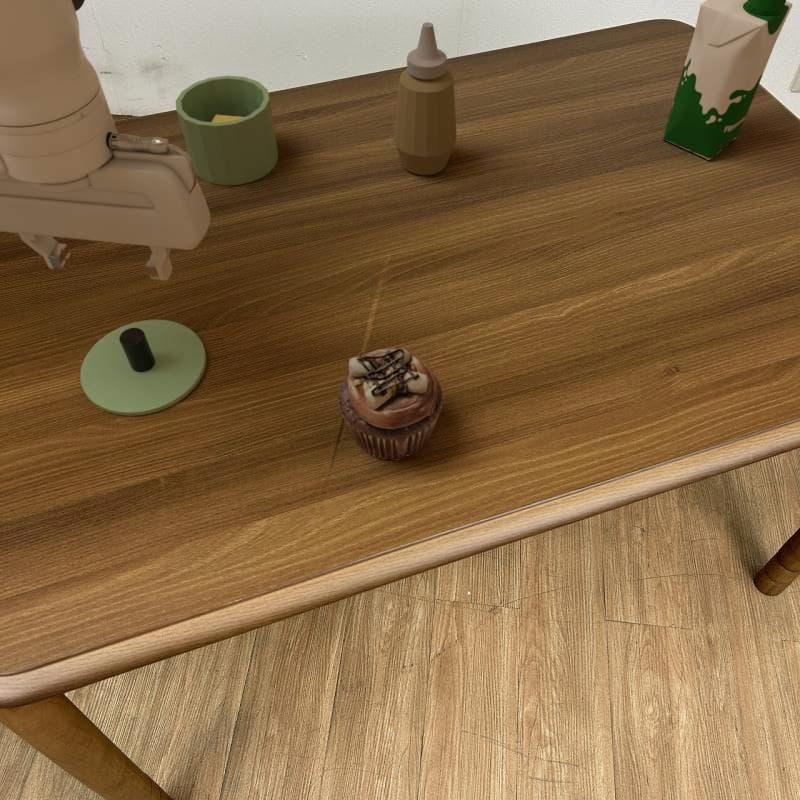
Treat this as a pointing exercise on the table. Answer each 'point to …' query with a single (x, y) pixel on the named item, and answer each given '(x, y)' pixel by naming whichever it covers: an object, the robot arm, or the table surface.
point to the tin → (228, 129)
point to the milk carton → (723, 71)
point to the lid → (143, 367)
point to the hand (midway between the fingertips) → (111, 270)
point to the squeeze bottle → (425, 108)
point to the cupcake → (390, 402)
